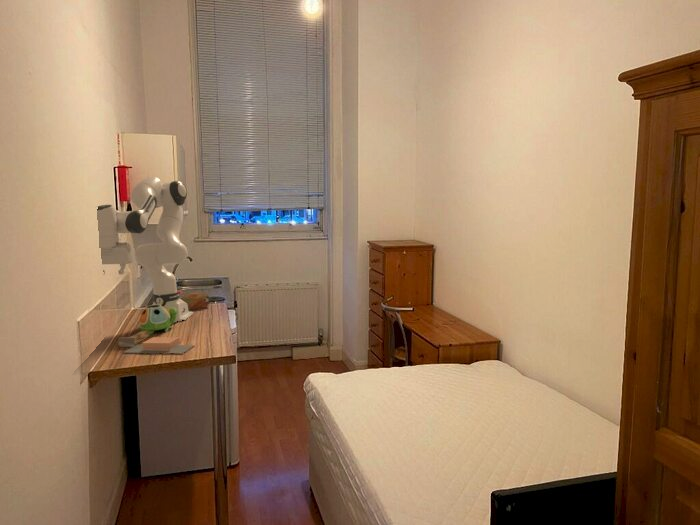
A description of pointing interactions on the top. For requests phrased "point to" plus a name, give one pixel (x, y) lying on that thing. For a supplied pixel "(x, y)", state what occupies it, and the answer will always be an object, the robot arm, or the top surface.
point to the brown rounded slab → (196, 300)
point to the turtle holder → (157, 318)
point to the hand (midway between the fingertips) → (111, 274)
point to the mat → (177, 350)
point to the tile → (161, 343)
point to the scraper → (133, 339)
